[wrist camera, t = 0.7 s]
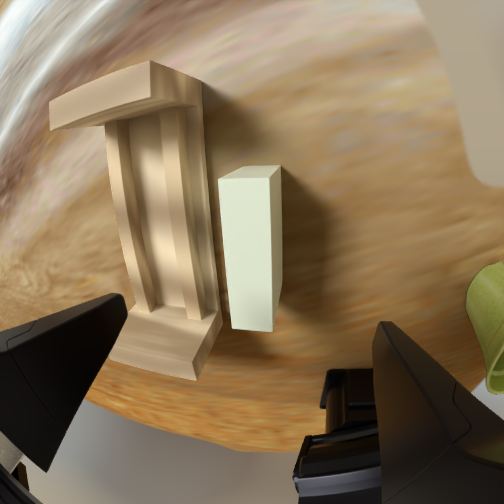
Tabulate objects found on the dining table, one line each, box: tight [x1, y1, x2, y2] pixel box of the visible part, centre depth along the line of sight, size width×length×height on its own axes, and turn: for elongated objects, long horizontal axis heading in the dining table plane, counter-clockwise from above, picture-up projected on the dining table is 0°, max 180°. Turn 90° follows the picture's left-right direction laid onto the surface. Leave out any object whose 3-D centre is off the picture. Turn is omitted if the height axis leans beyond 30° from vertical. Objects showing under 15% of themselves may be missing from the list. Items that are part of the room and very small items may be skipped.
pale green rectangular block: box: [218, 165, 282, 332], centre depth 17 cm, size 9×3×6 cm, turn 3°
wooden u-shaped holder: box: [49, 60, 223, 381], centre depth 18 cm, size 20×8×7 cm, turn 3°
